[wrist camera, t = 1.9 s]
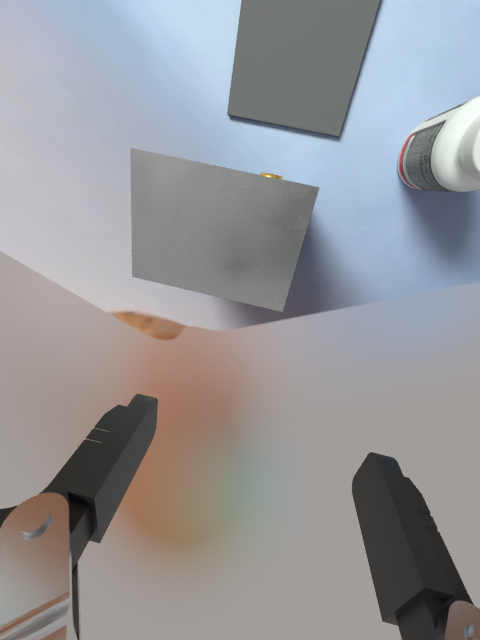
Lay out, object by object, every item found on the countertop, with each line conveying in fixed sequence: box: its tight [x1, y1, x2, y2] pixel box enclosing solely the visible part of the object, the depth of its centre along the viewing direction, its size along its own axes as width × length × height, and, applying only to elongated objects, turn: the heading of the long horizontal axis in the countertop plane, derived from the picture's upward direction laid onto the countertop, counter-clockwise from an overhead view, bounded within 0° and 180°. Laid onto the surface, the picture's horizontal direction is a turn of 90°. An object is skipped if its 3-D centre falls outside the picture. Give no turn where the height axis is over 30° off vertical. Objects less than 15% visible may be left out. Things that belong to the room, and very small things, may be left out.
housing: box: [131, 148, 319, 312], centre depth 22 cm, size 8×11×13 cm
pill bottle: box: [397, 96, 480, 192], centre depth 19 cm, size 5×5×10 cm
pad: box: [227, 0, 380, 137], centre depth 21 cm, size 10×10×1 cm
